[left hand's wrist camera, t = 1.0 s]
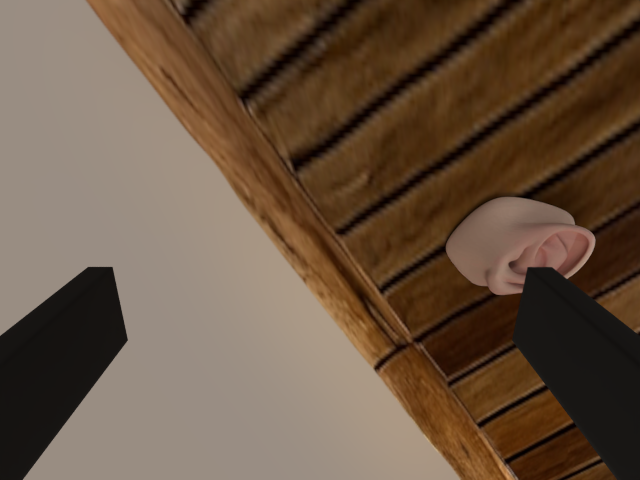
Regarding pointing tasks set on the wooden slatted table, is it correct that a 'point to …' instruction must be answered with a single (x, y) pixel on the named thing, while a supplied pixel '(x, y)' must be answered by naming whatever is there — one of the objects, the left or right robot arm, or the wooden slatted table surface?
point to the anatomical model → (517, 243)
